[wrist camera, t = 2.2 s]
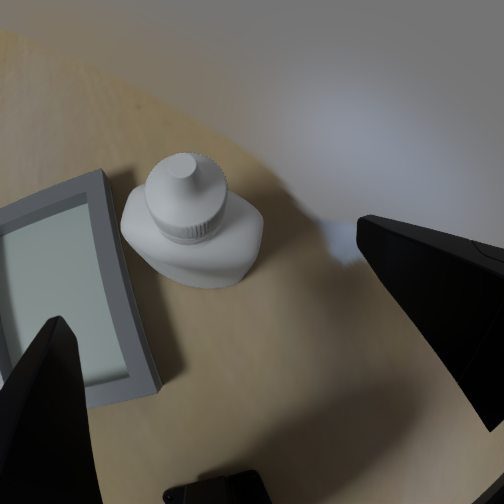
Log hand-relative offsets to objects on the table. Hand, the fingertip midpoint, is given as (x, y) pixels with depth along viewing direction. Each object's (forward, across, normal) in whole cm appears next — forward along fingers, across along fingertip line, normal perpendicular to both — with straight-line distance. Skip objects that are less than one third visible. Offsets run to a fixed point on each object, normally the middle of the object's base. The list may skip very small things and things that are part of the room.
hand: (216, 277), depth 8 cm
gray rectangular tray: (+10, +10, +5) cm, 15 cm away
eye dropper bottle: (+9, 0, +6) cm, 11 cm away
